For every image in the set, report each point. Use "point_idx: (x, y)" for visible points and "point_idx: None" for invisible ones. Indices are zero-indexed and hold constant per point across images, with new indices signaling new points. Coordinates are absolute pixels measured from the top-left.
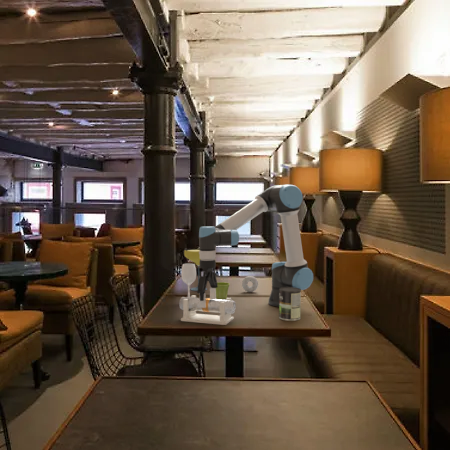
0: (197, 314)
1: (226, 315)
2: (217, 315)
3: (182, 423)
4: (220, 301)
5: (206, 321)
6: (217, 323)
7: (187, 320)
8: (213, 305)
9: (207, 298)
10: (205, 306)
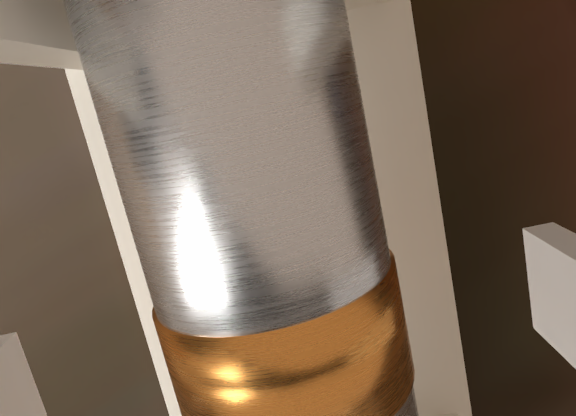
0: None
1: None
2: (112, 212)
3: None
4: (287, 25)
5: (434, 174)
6: (408, 25)
7: (466, 393)
8: (371, 156)
9: (260, 408)
10: (539, 233)
